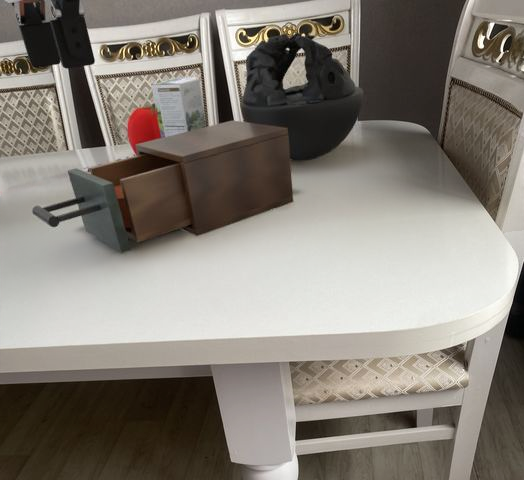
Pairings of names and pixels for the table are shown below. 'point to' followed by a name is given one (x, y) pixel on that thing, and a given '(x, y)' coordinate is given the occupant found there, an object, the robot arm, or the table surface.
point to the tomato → (143, 126)
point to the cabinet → (229, 171)
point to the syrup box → (178, 105)
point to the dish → (123, 207)
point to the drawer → (126, 200)
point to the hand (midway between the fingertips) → (62, 66)
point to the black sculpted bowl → (301, 95)
